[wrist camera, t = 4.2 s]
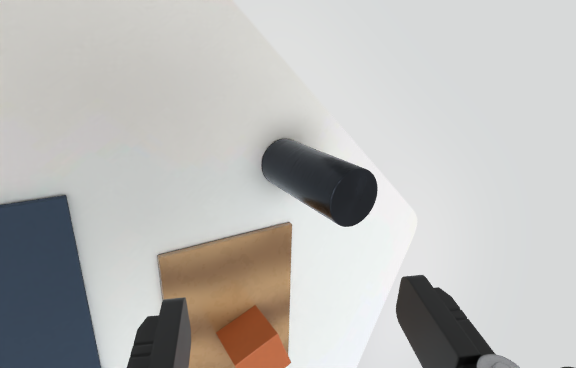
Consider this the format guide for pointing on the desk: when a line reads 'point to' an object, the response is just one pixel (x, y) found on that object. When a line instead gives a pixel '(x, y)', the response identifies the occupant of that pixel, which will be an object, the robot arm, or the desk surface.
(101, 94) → the desk surface
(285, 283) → the cork mat
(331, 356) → the desk surface
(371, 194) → the charcoal tin
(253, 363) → the orange block
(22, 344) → the slate mat
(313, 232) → the desk surface
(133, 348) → the robot arm
